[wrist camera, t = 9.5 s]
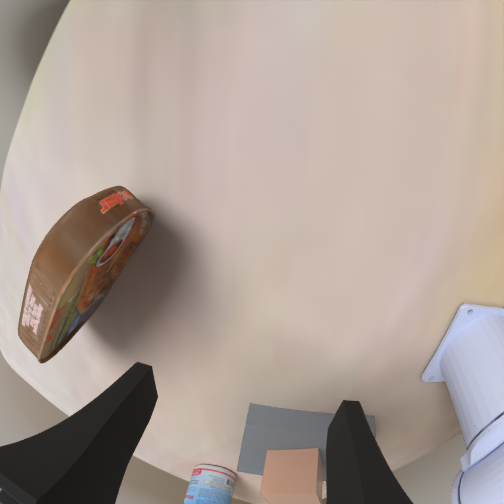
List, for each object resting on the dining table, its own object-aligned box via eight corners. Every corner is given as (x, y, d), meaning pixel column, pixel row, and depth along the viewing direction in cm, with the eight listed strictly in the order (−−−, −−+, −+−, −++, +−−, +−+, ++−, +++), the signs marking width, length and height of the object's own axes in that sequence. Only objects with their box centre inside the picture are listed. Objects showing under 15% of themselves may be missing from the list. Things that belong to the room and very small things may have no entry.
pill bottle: (192, 459, 34) (171, 526, 24) (237, 468, 33) (220, 538, 23) (196, 473, 36) (178, 533, 26) (236, 481, 36) (222, 543, 26)
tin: (90, 320, 24) (39, 383, 17) (65, 297, 24) (9, 355, 16) (175, 195, 18) (95, 257, 10) (138, 163, 17) (43, 205, 10)
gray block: (372, 411, 25) (375, 435, 22) (335, 461, 30) (335, 480, 28) (250, 398, 26) (245, 424, 23) (240, 451, 31) (236, 471, 29)
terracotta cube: (318, 447, 24) (315, 492, 19) (323, 467, 26) (321, 506, 21) (267, 450, 25) (259, 493, 21) (277, 469, 27) (272, 507, 22)
